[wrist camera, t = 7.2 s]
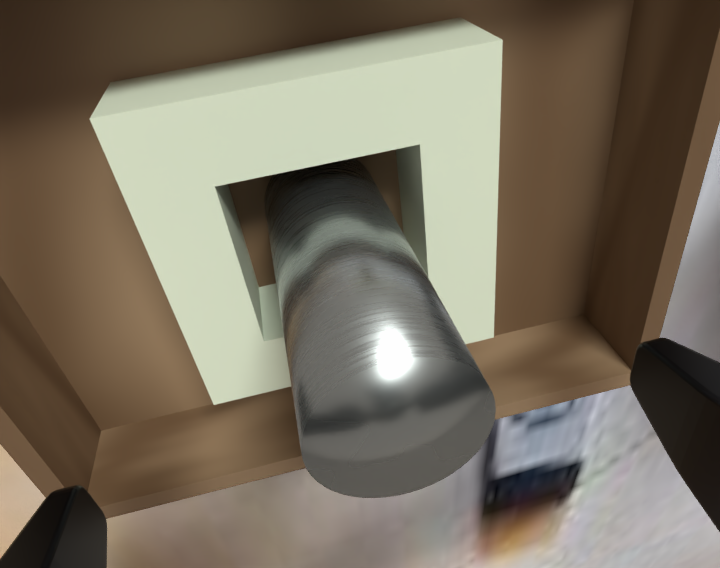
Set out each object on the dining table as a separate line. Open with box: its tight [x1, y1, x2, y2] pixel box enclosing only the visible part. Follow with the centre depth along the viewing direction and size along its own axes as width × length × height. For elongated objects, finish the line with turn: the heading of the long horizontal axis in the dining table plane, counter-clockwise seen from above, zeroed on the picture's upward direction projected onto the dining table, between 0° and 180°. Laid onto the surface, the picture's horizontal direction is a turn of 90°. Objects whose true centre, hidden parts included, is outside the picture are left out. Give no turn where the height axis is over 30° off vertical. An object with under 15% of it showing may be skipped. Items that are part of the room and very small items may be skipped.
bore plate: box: [90, 17, 503, 405], centre depth 14 cm, size 8×8×2 cm
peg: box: [265, 158, 496, 498], centre depth 11 cm, size 3×3×8 cm
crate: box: [0, 0, 720, 519], centre depth 14 cm, size 18×14×4 cm
